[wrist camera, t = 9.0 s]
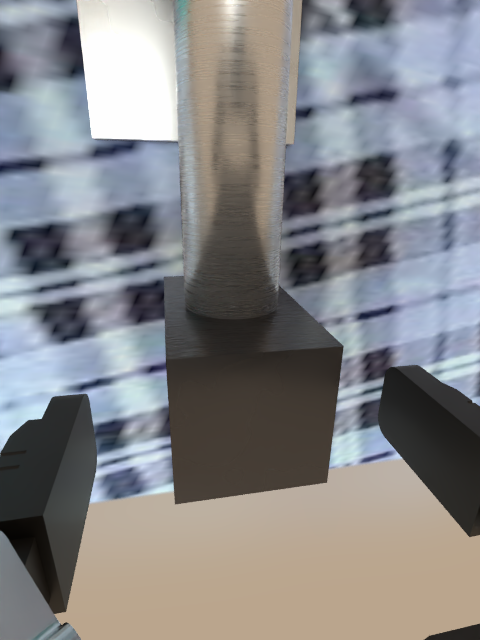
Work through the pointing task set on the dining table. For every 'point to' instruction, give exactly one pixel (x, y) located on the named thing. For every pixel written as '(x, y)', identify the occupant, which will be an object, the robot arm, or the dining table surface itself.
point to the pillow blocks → (144, 69)
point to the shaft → (239, 269)
